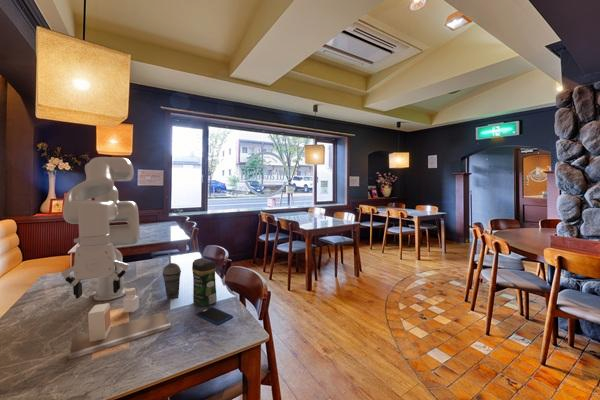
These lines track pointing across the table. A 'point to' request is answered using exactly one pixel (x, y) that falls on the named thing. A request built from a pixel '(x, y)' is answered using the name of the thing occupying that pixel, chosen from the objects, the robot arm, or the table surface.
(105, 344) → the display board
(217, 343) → the table surface
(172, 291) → the beverage cup
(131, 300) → the pepper shaker
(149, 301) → the table surface
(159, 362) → the table surface
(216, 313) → the cell phone
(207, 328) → the table surface
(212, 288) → the coffee jar
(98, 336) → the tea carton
